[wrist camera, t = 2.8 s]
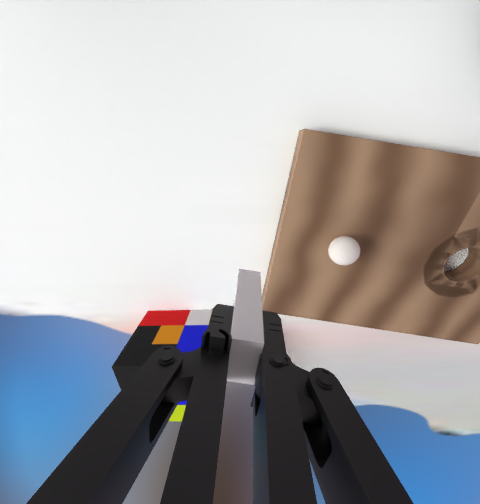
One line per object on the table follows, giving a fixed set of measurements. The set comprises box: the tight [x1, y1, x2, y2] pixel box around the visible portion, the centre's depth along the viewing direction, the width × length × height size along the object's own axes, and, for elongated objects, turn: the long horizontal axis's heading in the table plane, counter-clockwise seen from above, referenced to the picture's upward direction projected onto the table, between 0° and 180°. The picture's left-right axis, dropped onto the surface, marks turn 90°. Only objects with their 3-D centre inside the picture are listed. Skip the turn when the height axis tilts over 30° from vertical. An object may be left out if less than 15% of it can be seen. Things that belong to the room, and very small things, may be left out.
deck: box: [262, 129, 480, 344], centre depth 28 cm, size 30×22×2 cm
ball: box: [328, 236, 360, 265], centre depth 25 cm, size 3×3×3 cm
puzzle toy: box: [112, 310, 212, 421], centre depth 33 cm, size 10×10×10 cm
